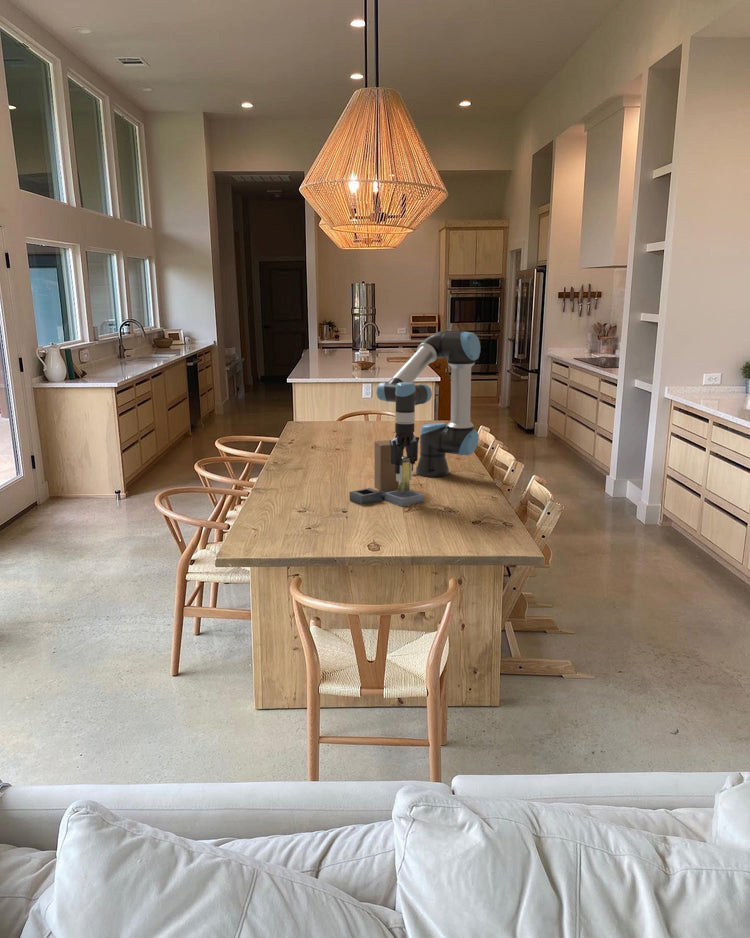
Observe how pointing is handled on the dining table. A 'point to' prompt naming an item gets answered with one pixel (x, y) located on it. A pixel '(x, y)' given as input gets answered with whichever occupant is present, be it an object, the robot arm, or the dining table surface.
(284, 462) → the dining table surface
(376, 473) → the wooden block
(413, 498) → the tray
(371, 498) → the bar
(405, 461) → the pin
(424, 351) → the robot arm
